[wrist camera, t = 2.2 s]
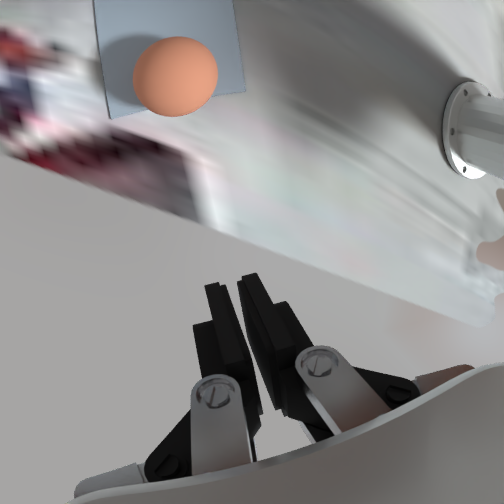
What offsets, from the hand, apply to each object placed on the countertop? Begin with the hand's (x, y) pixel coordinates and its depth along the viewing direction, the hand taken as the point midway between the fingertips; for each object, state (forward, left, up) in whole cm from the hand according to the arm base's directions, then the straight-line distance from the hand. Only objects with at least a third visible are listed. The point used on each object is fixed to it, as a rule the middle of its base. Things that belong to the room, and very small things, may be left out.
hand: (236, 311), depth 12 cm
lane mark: (0, -20, -17) cm, 26 cm away
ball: (0, -10, -14) cm, 17 cm away
